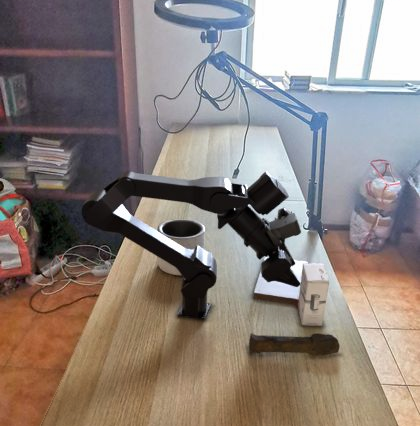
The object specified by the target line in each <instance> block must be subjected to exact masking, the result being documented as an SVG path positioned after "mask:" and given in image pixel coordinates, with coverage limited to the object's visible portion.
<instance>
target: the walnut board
mask: <svg viewBox="0 0 420 426" xmlns="http://www.w3.org/2000/svg"><path fill="white" fill-rule="evenodd" d="M267 258H269V256H267V257H265V256H264V257H263V261H265V260H266V259H267ZM293 260H294V261H295V265H294V266H291V270H292V271H293V273H294V274H295V276H296V277H297V279H298V280H299V282H300V284H301V276H302V268H303V264H309V261H304V260H295V259H293ZM299 292H300V286H298V287H294V286H291V285H288V284H285V283H281V282H277V281H272V282H271V281H270V282H267V281H266V280H265V279H264V278H263V277H262V275H261V270H260V271H259V274H258V277H257V280H256V284H255V287H254V290H253V295H252V298H253V299H259V300H267V301H271V302H279V303H286V304H293V305H298V300H299Z"/></svg>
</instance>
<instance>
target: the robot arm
mask: <svg viewBox="0 0 420 426" xmlns="http://www.w3.org/2000/svg"><path fill="white" fill-rule="evenodd" d="M130 197H137V198H145V199H154V200H163V201H170V202H179V203H184V204H185V203H186V204H189V205H192V206H194V207H196V208H198V209H200V210H202V211H205V212H209V213H212V214H216V217H217V229H218V230H222V229H223V228H224V227H225V226H226V225H228V226H229V227H230V228H231V229H232V230H233V231H234V232H235V233H236V234H237V235H238V236H239V237H240V238H241V239H242V240H243V245H244V246H245V247H246V248H248V247H250V248H251V249H252V250H253V251H254V252H255V254H256V255H255V256H256V258H257V259H258V260H259V261H260V260H262V259H264V258H265V257H269V258H267V259H266V260H265V261H264V260H263V261H262V262H261V263H260V271H261V275H262V277H263V278H264V279H265V280H266V281H267V282H270V281H271V282H272V281H277V282H281V283H285V284H288V285H291V286H294V287H298V286H300V282H299V280H298V279H297V277H296V276H295V274H294V273H293V271H292V270H291V266H294V265H295V261H294V260H295V259H294V258H293V256H292V255H291V252H290V251H289V249H288V247H287V245H286V240H287V239H289V238H291V237H297V236H299V235H300V234H301V233H302V230H301V226H300V223H299V220H298V218H297V214H296V213H295V212H293V210H292V211H289V210H288V209H287V208H286V207H282V208H279V209H278V210H277V216H276V217H274V220H271V221H269V220H268V218H266V217H265V218H264V217H262V218H261V217H260V216H259V215H261V216H265V215H266V216H267V215H269V214H270V213H271V212H273V211H274V210H276V208H277V207H279V206H280V205H281V204H282V203H284V202H285V201H286V200H287V199H288V198H289V197H290V196H289V193H288V192H287V190H286V189H285V187H284V186H283V185H282V183H281V182H280V181H279V180H278V179H277V178H275V177H274V176H273V175H272V174H270V173H269V172H268V171H264V172H263V173H262V174H261V175H260V176H259V178H257V180H255V181H254V182H253V183H252V184H251V185H250V186H249V187H248V185H247V184H243V183H237V182H233V181H230V180H229V178H226V177H224V176H204V177H201V178H195V179H185V178H178V177H171V176H163V175H162V176H161V175H153V174H147V173H138V172H134V171H131V170H126V171H123V173H121V175H119V176H118V177H117V178H116V179H114V180H113V181H111V182H110V183H108V184H107V185H106V186H105V187H103V189H102V188H100V189H95V190H93V191H91V193H90V194H89V195H88V197H87V199H86V200H85V202H83V205H82V207H81V216H82V219H83V221H84V223H86V224H87V225H88V226H89V227H92V228H94V229H97V230H100V231H103V232H105V233H112V234H119V235H121V236H123V237H124V238H126V239H127V240H129V241H130V242H132V243H134V244H136V245H137V246H139V247H140V248H142V249H144V250H146V251H147V252H149V253H151V254H152V255H154V256H156V257H157V258H158V257H159V258H161V259H163V260H164V261H166V262H168V263H169V264H171V265H173V266H174V267H176V268H177V269H178V271H179V272H180V273H181V275H182V280H181V287H180V292H181V294H182V297H181V298H182V301H181V302H182V304H181V306H180V308H179V310H178V312H177V316H179V317H186V318H191V319H197V320H206V318H207V315H208V313H209V311H210V308H211V305H212V304H211V303H210V302H208V291H209V290H211V289H212V288H213V287H214V286H215V285H216V283H217V279H218V274H217V273H218V264H217V260H216V258H215V257H214V256H213V253H212V252H210V251H206V250H204V249H202V248H201V247H200V246H198V245H197V246H196V248H195V250H192V249H186V248H184V247H182V246H181V245H179V244H177V243H176V242H174V241H173V240H171V239H169V238H168V237H166V236H164V235H163V234H161V233H160V232H158V231H157V229H155V228H154V227H152V226H150V225H148V224H147V223H145V222H143V220H140V219H138V217H136V216H134V215H132V214H131V212H129V211H128V210H127V209H126V208H127V207H125V205H124V203H125V202H126V201H127V200H128V199H129V198H130Z"/></svg>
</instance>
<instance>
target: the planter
mask: <svg viewBox="0 0 420 426" xmlns="http://www.w3.org/2000/svg"><path fill="white" fill-rule="evenodd" d="M156 231H158V232H160V233H161V234H163V235H164V236H166V237H168V238H169V239H171V240H173V241H174V242H176V243H177V244H179V245H181V246H182V247H184V248H186V249H192V250H195V248H196V246H197V245H198V246H200V247H201V248H202V249H204V250H205V248H206V247H205V245H206V227H205V225H203V223H201V222H199V221H197V220H193V219H190V218H189V219H188V218H174V219H167V220H165V221H162V222H161V223H160V224H159V225H158V226H157V229H156ZM205 251H206V250H205ZM157 264H158V267H159V269H160V270H161V271H163V272H164V273H166V274H169V275H173V276H177V277H178V276H180V277H181V276H182V275H181V273H180V272H179V271H178V269H177V268H176V267H174V266H173V265H171V264H169V263H168V262H166V261H164V260H163V259H161V258H159V257H157ZM182 277H183V276H182Z"/></svg>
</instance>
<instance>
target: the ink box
mask: <svg viewBox="0 0 420 426" xmlns="http://www.w3.org/2000/svg"><path fill="white" fill-rule="evenodd" d="M329 286H330V279H329V276H328V272H327V269H326V266H325V264H323V263H315V262H313V263H308V264H303V268H302V276H301V284H300V292H299V300H298V304H297V308H298V313H299V318H300V322H301V325H302V326H313V327H314V326H318V327H319V326H320V327H322V326H323V321H324V316H325V311H326V310H325V309H326V304H327V298H328V292H329Z"/></svg>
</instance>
